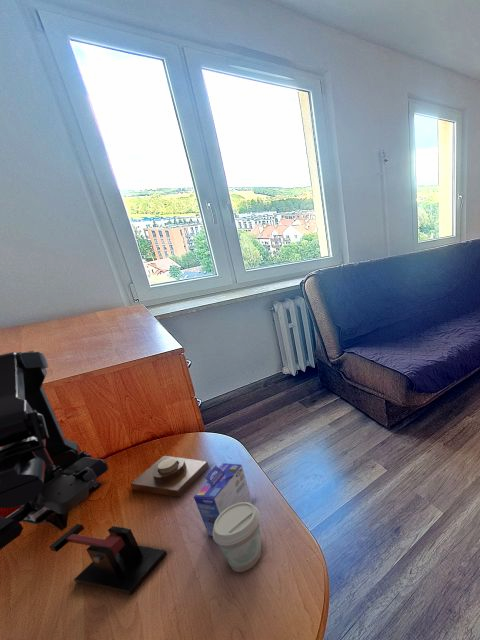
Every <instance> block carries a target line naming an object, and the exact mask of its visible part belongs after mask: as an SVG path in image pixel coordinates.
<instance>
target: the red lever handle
mask: <svg viewBox="0 0 480 640" xmlns="http://www.w3.org/2000/svg"><path fill="white" fill-rule="evenodd" d="M83 530H85V527H84V525H83V523H82V524H81V523H76V524H75V525H73V527H71V528H70V529H68V531H66V532H65V533H64V534H62V535H61V536H60V537H59V538H57V539H56V540H55V541H54V542H52V543H51V544H50V545H49V549H50V551H51V552H55V553H57V552H59V551H60V550H61V549H62V548H64V546H66V545H67V544H69V543H71V544H72V543H73V544H77V545H83V546H89V547H90V546H91V545H96V546H101V547H106V548H111V550H112V552H113V554H114V555H116V554H117V553H118V552H119V551H120V550H121V549H122V548H123V547H124V546H125V543H124V541H123V539H122V537H119V536H113V535H110V534H109V535H108V536H107V537H105V538H99V537H92V536H88V535H81V534H80V533H82V531H83Z"/></svg>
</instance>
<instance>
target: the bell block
mask: <svg viewBox="0 0 480 640" xmlns="http://www.w3.org/2000/svg"><path fill="white" fill-rule="evenodd" d="M168 458H175V459H176V460H177V463H178V466H177V467H176V468H175V469H174V470H173V471H171V472H169V473H164V474H161V473H160V472H159V469H158V465H159V463H160V462H162V461H163V460H165V459H168ZM209 468H210V467H209V463H208V461H206V460H200V459H199V460H198V459H192V458H185V457H178V456H169V455H163V456H162V457H161V458H159V459H158V460H157V461H155V462H154V463H153V464H152V465H151V466H150V467H149V468H147V469H146V470H145V471H144V472H142V473H141V474H140V475H139V476H137V477H136V478H135V479H134V480H132V481H131V482H130V486H131V488H132V490H133V491H138V492H146V493H151V494H158V495H164V496H171V497H177V498H180V497H181V496H182V495H183V494H184V493H185V492H186V491H187V490H188V489H190V487H191V486H192V485H193V484H194V483H195V482H196V481H197V480H198V479H199V478H200V477H201V476H202V475H203V474H204V473H205V472H206V471H207V470H208V469H209Z"/></svg>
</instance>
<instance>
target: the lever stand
mask: <svg viewBox="0 0 480 640" xmlns="http://www.w3.org/2000/svg"><path fill="white" fill-rule="evenodd" d="M107 531H108V534H109V535H113V536H119V537H122V539H123V541H124V543H125V546H124V547H123V548H122V549H121V550H120V551H119V552H118V553H117V554H116V555H114V554H113V552H112V550H111V548H106V547H101V546H96V545H91V546H89V547H88V548H86V552H87V553H88V556H89V558H90V559H91V561H92V562H91V563H89V565H88V566H86V567H85V568H84V569H83V570H82V571H81V572H80V573H79V574H78V575H77V576H76V577H75V578H74V579H73V580H74V582H75V584H78V585H83V586H87V587H92V588H97V589H102V590H105V591H111V592H116V593H121V594H125V595H129V596H132V595H133V594H134V592H135V591H136V590H137V589H138V588H139V587H140V586H141V585H142V583H143V582H144V581H145V580H146V579H147V578H148V577H149V576H150V574H152V572H153V571H154V570H155V569H156V567H158V565H159V564H160V563H161V562H162V561H163V559H164V558H165V557H167V555H168V552H167V550H166V549H161V548H155V547H150V546H144V545H140V544H138V542H137V540H136V538H135V536H134V533H133V531H132V529H131V528H127V527H121V526H115V525H112V526H111V527H110V528H108V530H107Z"/></svg>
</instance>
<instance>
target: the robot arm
mask: <svg viewBox="0 0 480 640" xmlns="http://www.w3.org/2000/svg"><path fill="white" fill-rule="evenodd" d="M47 368H49V365H48V362H47V359H46V357H45V354H43V353H42V352H40V351H34V350H30V351H29V350H28V351H23V352H22V351H19V352H17V351H12V352H8V353H2V354H0V509H11V508H18V507H19V508H18V509H16V510H14V511H13V512H12V513H10V514H9V515H7V516H6V517H4V516H0V550H2V549H4V548H5V547H6V546H7V545H9V544H10V543H12V542H13V541H15V540H16V539H17V538H18V537H20V536H21V534H22V532H23V530H24V526H23V525H22V523H26V524H31V525H39V524H41V523H42V524H44V525H47V526H48V527H51V528H53V529H55V530H57V531H61V532H62V531H64V530H66V528H67V527H68V521H69V512H70V511H72V510H73V509H74V508H75V507H76V506H78V504H80V503H81V502H83V501H85V500H86V499H87V498H88V497H89V495H90V494H91V493H92V492H93V491H95V490H96V489H97V488H98V487H100V486H102V482H101V481H97V479H98V478H100V477H101V476H102V475H103V474H105V473H106V472H107V471H108V470H109V465H108V462H106V461H105V460H104V459H101V458H94V457H93V456H92V455H91V454H90V453H89V452H88V451H86V450H85V449H84V450H82V449H81V447H80V445H79V443H77V442H75V441H72V440H71V439H68V438H66V436H65V435H64V432H63V430H62V427H61V426H60V425H61V424H60V423H59V421H58V419H57V417H56V413H55V412H54V410H53V407H52V405H51V403H50V400H49V398H48V396H47V393H46V391H45V388H44V387H43V383H44V382H45V379H46V377H47V374H48V371H47Z"/></svg>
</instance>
